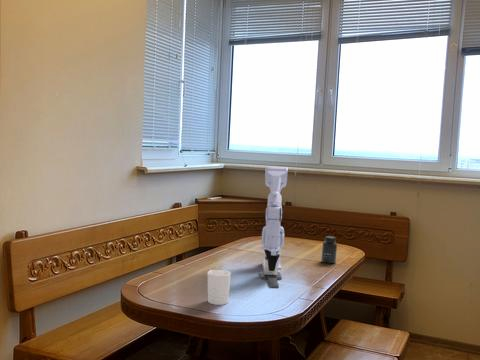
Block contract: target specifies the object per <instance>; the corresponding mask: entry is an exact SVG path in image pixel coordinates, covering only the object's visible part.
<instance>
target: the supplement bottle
mask: <svg viewBox="0 0 480 360" xmlns="http://www.w3.org/2000/svg"><path fill="white" fill-rule="evenodd" d="M321 247H322V248H321V259H320V260H321V263H323V262H324V264H327V263H334V264H336V262H337V255H338V253H337V250H338V244H337V242H336V236H331V235H328V236H325V237H324V242H322V245H321Z"/></svg>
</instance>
